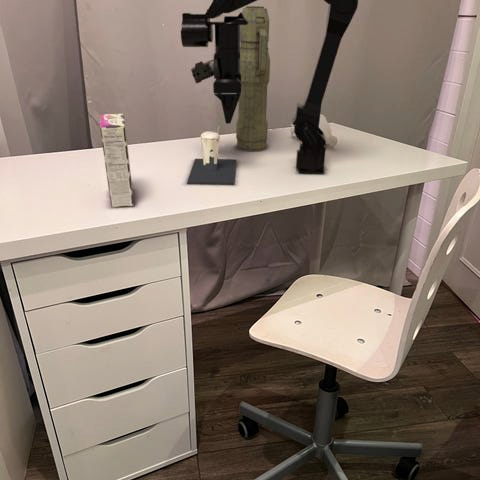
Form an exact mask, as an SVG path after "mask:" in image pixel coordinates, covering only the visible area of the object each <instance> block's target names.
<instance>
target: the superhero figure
mask: <svg viewBox="0 0 480 480" xmlns="http://www.w3.org/2000/svg"><path fill="white" fill-rule="evenodd" d="M290 126H291V128H290V137H291V138H294V135H295V133H294V125H293V124H292V123H291V124H290ZM319 128H320V129H321V130H322V131H323V133H324V135H325V139H326V144H325V145H327V144H328V146H329V147H331V148H335V147H336V146H337V144H338V137H336V136H334V135H333V133H332V129H331V125H330V123H329V122H328V121H327V118H326V116H325V115H323V114H322V113H320V122H319Z"/></svg>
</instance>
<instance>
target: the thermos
mask: <svg viewBox="0 0 480 480" xmlns="http://www.w3.org/2000/svg"><path fill="white" fill-rule="evenodd" d="M241 12H242V13H243V15H244V17H245V18H246V19H247V20H248V21H249V23H248V24H247V25H240V73H241V95H240V98H239V101H238V104H237V107H238V110H237V111H238V112H237V113H238V115H237V121H236V124H235V126H236V127H235V139H236V148H237V150H241V151H245V152H262V151H264V150H266V149H267V140H268V129H269V124H268V120H267V108H268V106H267V105H268V84H269V83H270V73H271V57H270V54H269V46H268V45H269V42H270V41H269V40H270V17H269V13H268V8H265V6H260V5H259V6H256V5H251V6H250V5H249V6H248V5H246V6H245V7H242V11H241Z"/></svg>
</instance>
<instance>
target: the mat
mask: <svg viewBox="0 0 480 480" xmlns="http://www.w3.org/2000/svg"><path fill="white" fill-rule="evenodd" d="M236 170H237V159H236V158H218V167H217V171H211V172H209V171H205V170H204V162H203V158H194V160H193V163H192V167H191V169H190V172H189V175H188V177H187V181H186V184H187V185H208V186H209V185H211V186H212V185H213V186H216V185H217V186H219V185H220V186H235V181H236V172H237V171H236Z"/></svg>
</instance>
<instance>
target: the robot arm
mask: <svg viewBox="0 0 480 480" xmlns="http://www.w3.org/2000/svg"><path fill="white" fill-rule="evenodd" d="M257 1H258V0H212V2H211V4H210V5H209V7H208V8H207V9H206V12H205V13H192V12H183V13H181V15H182V17H181V18H182V19H181V29H180V39H181V40H180V41H181V46H182V47H183V48H208V47H209V43H213V40H214V53H213V59H210V60H208V61H205V62H203V61H202V60H200V61H199V62H196V63H195V64H194V66H193V67H191V69H190V71H191V75H192V77H193V79H194V83H195V84H200V83H202V81H204V80H207V79H210V78H213V79H214V80H213V84H212V87H213V95H214V96H215V97H217V98H218V100H219V101H220V103H221V108H222V112H223V116H224V122H225V124H231V122H232V120H233V117H234V114H235V111H236V109H237V107H238V104H239V98H240V95H241V73H240V43H241V41H240V25H247V24H248V23H249V21H248V20H247V19H246V18H245V17H244V15H243V13H242V11H241V12H239V14H238V15H225V16H224V18H223V21H211V19H212V20H213V19H216V18H219V17H220V16H222V15H223V14H230V13H233V12H236V11H238V10H240V9H243V8H245V7H246V6H248V5H249V6H250V5H251V4H253V3H256V2H257ZM323 1H324V2H325V3H326V4H327V6H328V7H327V14H326V24H325V32H324V37H323V40H322V43H321V47H320V50H319V53H318V57H317V60H316V63H315V68H314V71H313V74H312V76H311V77H312V78H311V81H310V84H309V87H308V91H307V95H306V96H305V99H304V101H303V103H302V104H301V103H300V102H296V109H295V114H294V116H293V117H292V119H291V120H292V123H291V125H292V124H293V125H294V127H293V128H294V135H295V137H296V139H298V140H299V141H300V142H301V143H299V147H298V149H296V154H295V155H296V156H295V168H296V170H297V172H298V174H314V175H315V174H317V175H318V174H320V175H324V174H326V172H325V161H326V151H327V146H326V145H327V144H326V139H325V135H324V133H323V131H322V130H321V129H320V128H319V122H320V114H322V113H321V112H322V103H323V100H324V96H325V94H326V90H327V87H328V83H329V81H330V77H331V73H332V71H333V68H334V64H335V61H336V58H337V54H338V51H339V48H340V45H341V42H342V39H343V37H344V35H345V33H346V31H347V30H348V28H349V26H350V24H351V22H352V20H353V18H354V16H355V14H356V12H357V10H358V5H359V0H323Z"/></svg>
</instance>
